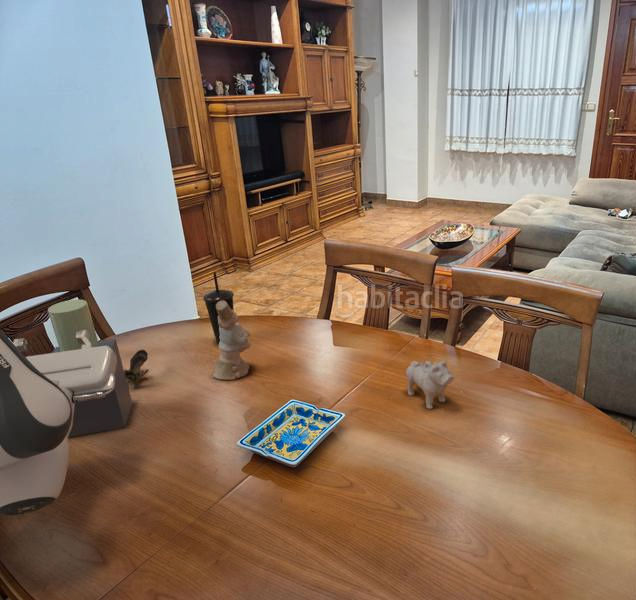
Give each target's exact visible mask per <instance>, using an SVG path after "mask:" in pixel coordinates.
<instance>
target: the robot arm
mask: <svg viewBox="0 0 636 600" xmlns="http://www.w3.org/2000/svg"><path fill="white" fill-rule="evenodd" d="M76 339H77V340H78V342H79V344H83V343H85V345H82V349H78V350H71V351H64V352H57V353H52V352H51V353H44V354H35V355H28V356H25V355H24V354H23V353H24V352H28V346H29V341H28V340H27V338H25V337H23V338H22V337H21V338H15V339H13V342H12V340H11V339H10V338H9V337H8V336H7V335H6V334H5V333H4V331H2V329H0V515H1V516H18V515H23V514H28V513H32V512H35V511H38V510H40V509H43V508H45V507H47V506H49V505H52V504H53V503H54V502H55V501H56V500H57V499H58V498H59V496H60V494H61V493H62V490H63V487H64V484H65V481H66V477H67V473H68V467H69V460H70V450H71V448H70V442H69V437H68V436H69V433H70V431H71V429H72V425H73V416H74V408H75V403H76V402H82V401H87V400H90V399H100V398H103V397H105V395H107V394H109V393H110V392H112V391H113V390H114V388H115V376H114V374H115V370H116V365H117V357H116V354H115V353H114V351H113V350H112V349H111V348H110V347H109V346H100V347H93V346H92V345H91V343H90V342H89V333H88V331H87V330H81V331H77V335H76Z"/></svg>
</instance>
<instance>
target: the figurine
mask: <svg viewBox="0 0 636 600" xmlns="http://www.w3.org/2000/svg"><path fill="white" fill-rule="evenodd" d="M216 310H217V312H218V315H219V316H218V317H217V318H218V323H219V324H218V326H220V327H219V334H220V336H219V338H220V342H219V345H217V346H218V349H219V351H220V355H219V356H218V357H217V358H216V364H215V369H214V371H213V373H212V376H213V377H214V378H216V379H218V380H227V381H228V380H236V379H240V378H241V377H244V376H246V375H247V374H248V373H249V369H250V365H249V364H248V362H247V361H245V360H244V359H243V358H242V357H241V353H243V352H244V351H246V350H248V349H249V348H251V342H250V341H248V338H249V337H250V336H251V333H250V331H248V330H247V329H246V328H245V327H244V326H243V325H242V324H241V323H240V322H239V320H240V317H239V315H237V313H236V312H235V311H234V312H233V310H232V309H231V308H230V307H229V305H228V304H227V302H226V301H219V302H218V303H217V304H216Z"/></svg>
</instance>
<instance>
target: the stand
mask: <svg viewBox="0 0 636 600" xmlns="http://www.w3.org/2000/svg"><path fill="white" fill-rule="evenodd" d="M98 343H99V347H100V346H109V347H110V348H111V349H112V350H113V351H114V353H115V354H116V357H117V365H116V370H115V374H114V376H115V388H114V390H113V391H112V392H110V393H109V394H107V395H105V397H103V398H100V399H90V400H87V401H82V402H76V403H75V408H74V416H73V425H72V429H71V431H70V433H69V436H68V438H73V437H79V436H86V435H90V434H95V433H101V432H107V431H111V430H112V431H113V430H118V429H124V428H126V426H127V423H128V420H129V416H130V413H131V410H132V406H133V400H132V396H131V392H130V388H129V383H128V381H127V377H126V376H125V373H124V370H125V368H124V365H123V362H122V357H121V354H120V351H119V346H118V342H117V339H116V338H113V339H104V340H98ZM57 352H61V351H60V348H59V346H56V347H54V349H53V351H52V352H51V353H57Z"/></svg>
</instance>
